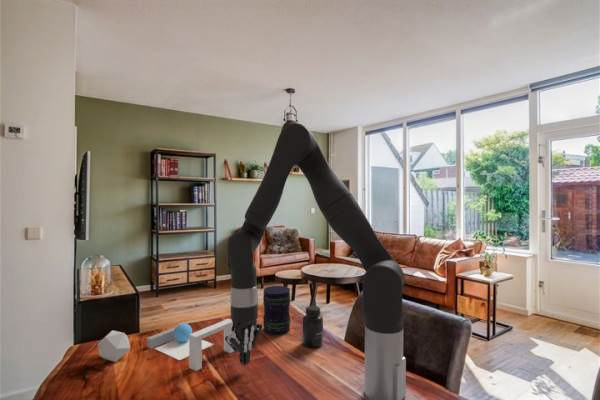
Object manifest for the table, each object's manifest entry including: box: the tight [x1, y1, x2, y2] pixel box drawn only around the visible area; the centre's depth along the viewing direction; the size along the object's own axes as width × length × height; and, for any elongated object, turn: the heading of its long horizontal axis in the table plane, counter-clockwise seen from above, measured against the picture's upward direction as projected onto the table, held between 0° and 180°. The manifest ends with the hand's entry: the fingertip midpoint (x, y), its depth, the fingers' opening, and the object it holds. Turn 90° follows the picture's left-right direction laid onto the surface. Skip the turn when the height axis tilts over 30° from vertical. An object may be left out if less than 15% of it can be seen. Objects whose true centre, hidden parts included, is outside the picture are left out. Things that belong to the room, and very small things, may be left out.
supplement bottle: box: [302, 305, 324, 349], centre depth 113 cm, size 7×7×12 cm
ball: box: [174, 322, 193, 342], centre depth 115 cm, size 6×6×6 cm
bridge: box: [188, 318, 235, 372], centre depth 103 cm, size 3×15×10 cm, turn 145°
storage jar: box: [262, 285, 291, 337], centre depth 124 cm, size 10×10×15 cm
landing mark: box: [154, 339, 214, 361], centre depth 111 cm, size 13×13×1 cm
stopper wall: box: [146, 326, 177, 349], centre depth 116 cm, size 2×14×3 cm, turn 145°
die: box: [97, 330, 131, 363], centre depth 103 cm, size 8×9×10 cm
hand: (244, 363), depth 95 cm, fingers closed
